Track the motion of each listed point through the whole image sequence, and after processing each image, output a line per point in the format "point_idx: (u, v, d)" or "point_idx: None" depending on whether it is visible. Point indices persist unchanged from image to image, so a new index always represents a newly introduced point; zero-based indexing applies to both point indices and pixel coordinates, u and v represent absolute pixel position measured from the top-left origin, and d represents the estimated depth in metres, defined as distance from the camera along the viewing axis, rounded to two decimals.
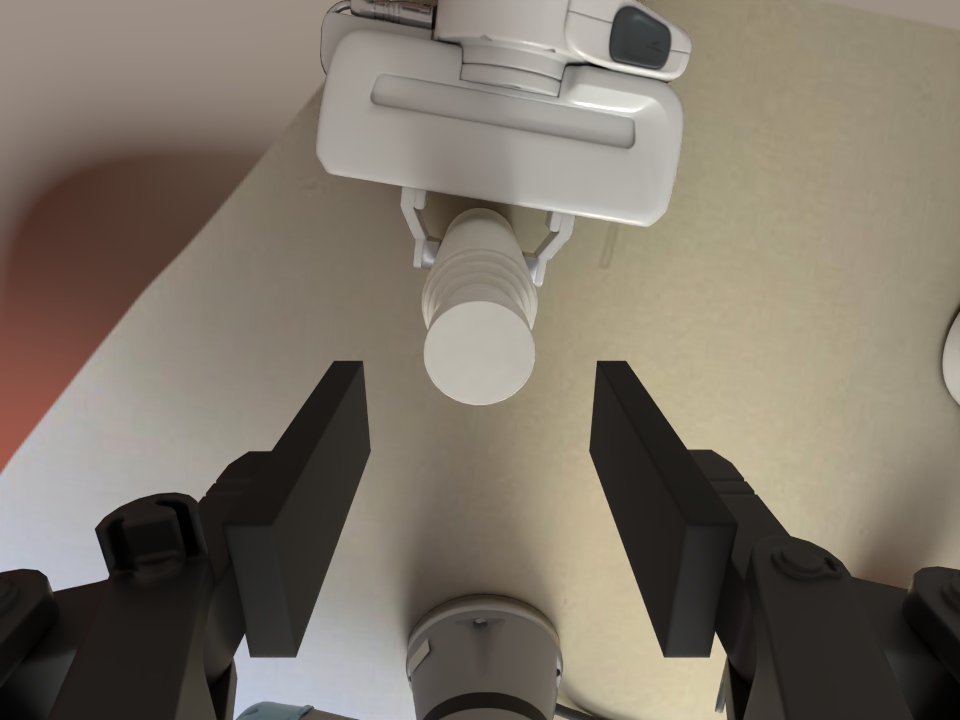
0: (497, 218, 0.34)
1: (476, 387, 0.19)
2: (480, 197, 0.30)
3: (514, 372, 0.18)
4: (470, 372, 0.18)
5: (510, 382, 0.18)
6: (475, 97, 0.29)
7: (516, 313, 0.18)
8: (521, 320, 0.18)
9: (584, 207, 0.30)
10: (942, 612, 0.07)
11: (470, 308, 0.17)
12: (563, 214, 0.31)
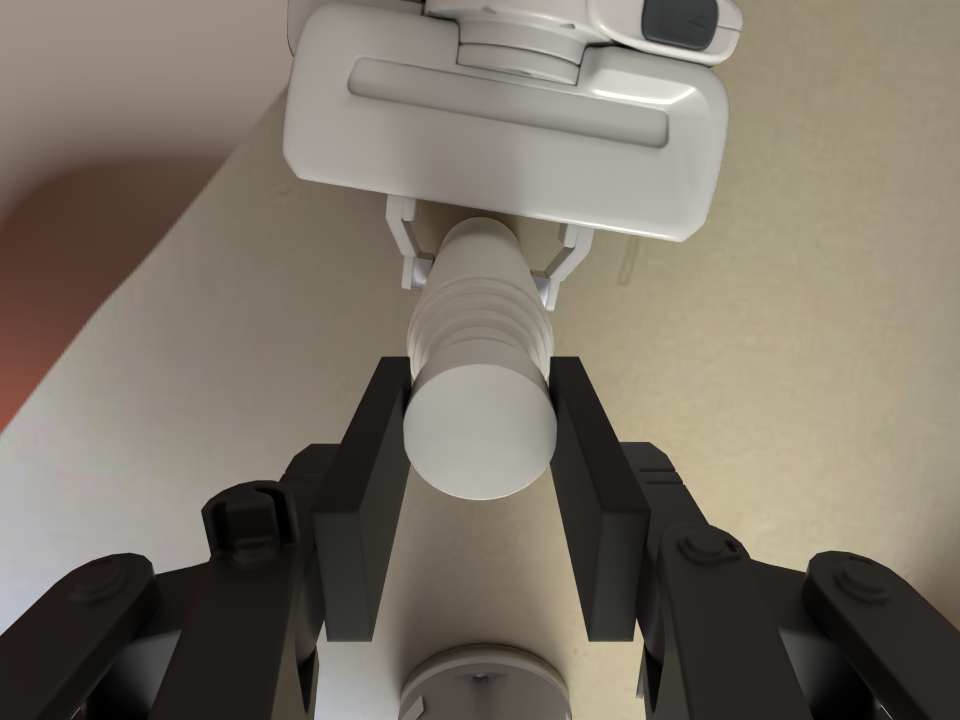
0: (501, 230, 0.29)
1: (476, 477, 0.13)
2: (481, 207, 0.25)
3: (528, 458, 0.13)
4: (467, 458, 0.13)
5: (523, 471, 0.13)
6: (474, 85, 0.23)
7: (532, 379, 0.13)
8: (538, 390, 0.13)
9: (606, 219, 0.25)
10: (834, 597, 0.07)
11: (467, 373, 0.12)
12: (580, 227, 0.26)
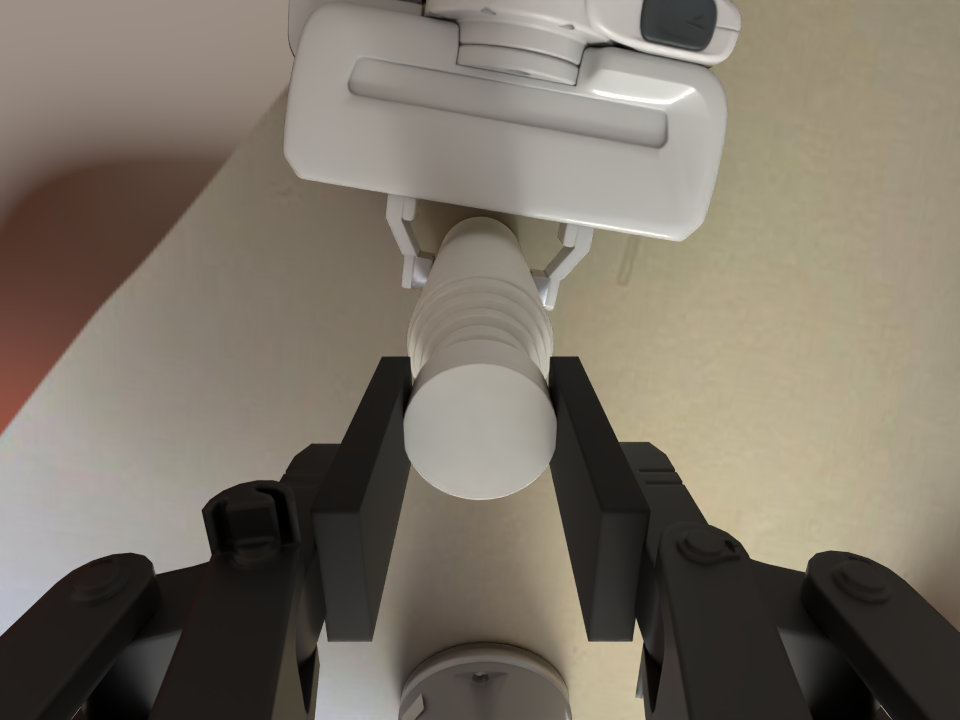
0: (500, 230, 0.30)
1: (525, 415, 0.13)
2: (481, 206, 0.25)
3: (477, 383, 0.13)
4: (509, 432, 0.13)
5: (493, 380, 0.12)
6: (474, 85, 0.24)
7: (403, 421, 0.13)
8: (407, 414, 0.13)
9: (605, 218, 0.25)
10: (833, 596, 0.07)
11: (430, 473, 0.13)
12: (579, 226, 0.26)
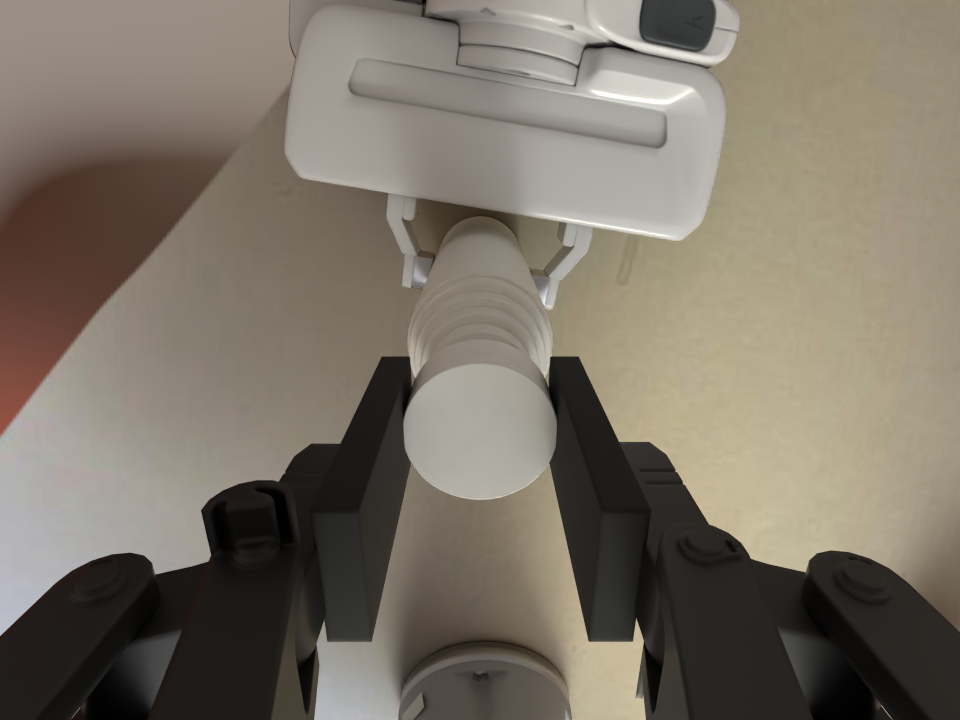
0: (500, 229, 0.30)
1: (437, 410, 0.13)
2: (481, 206, 0.25)
3: (434, 461, 0.13)
4: (462, 413, 0.13)
5: (423, 451, 0.13)
6: (474, 86, 0.24)
7: (506, 493, 0.14)
8: (496, 496, 0.14)
9: (604, 218, 0.26)
10: (834, 596, 0.07)
11: (543, 452, 0.13)
12: (579, 226, 0.26)
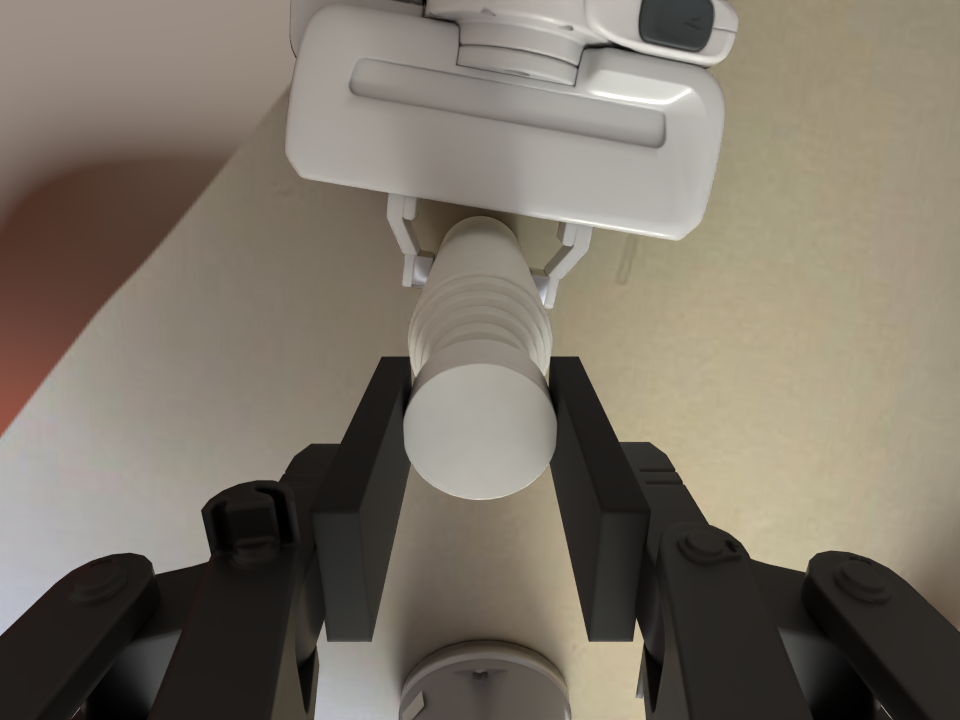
0: (500, 229, 0.30)
1: (478, 477, 0.13)
2: (481, 206, 0.26)
3: (530, 455, 0.13)
4: (469, 458, 0.13)
5: (525, 468, 0.13)
6: (474, 86, 0.24)
7: (529, 377, 0.13)
8: (536, 386, 0.13)
9: (604, 217, 0.26)
10: (834, 597, 0.07)
11: (463, 374, 0.12)
12: (578, 225, 0.26)
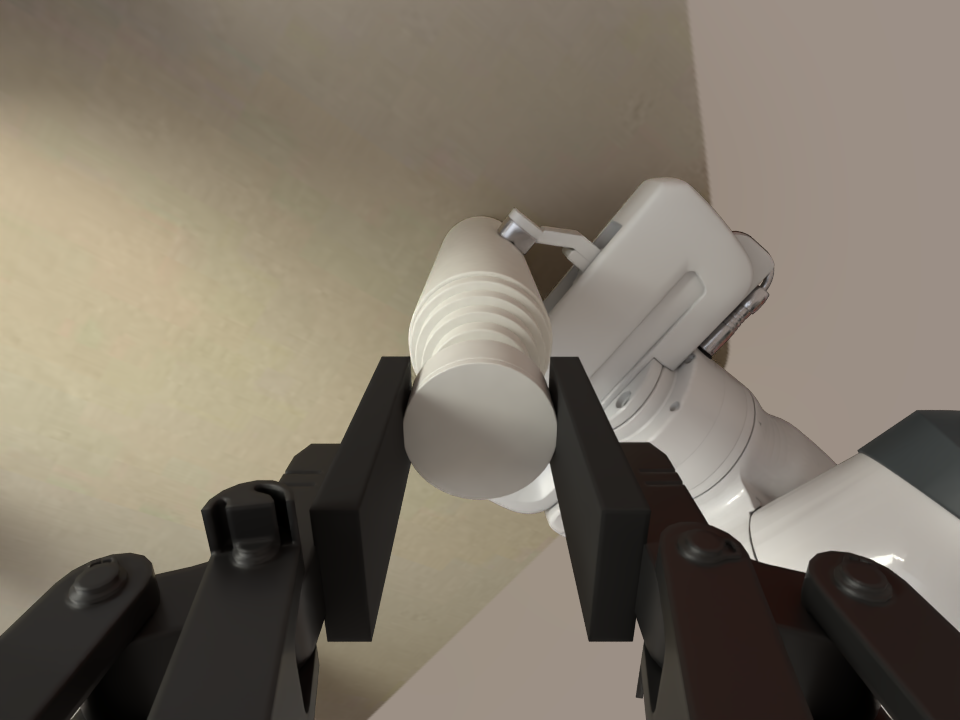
0: None
1: (478, 477, 0.13)
2: None
3: (530, 455, 0.13)
4: (469, 458, 0.13)
5: (525, 468, 0.13)
6: (631, 361, 0.29)
7: (529, 377, 0.13)
8: (536, 387, 0.13)
9: None
10: (834, 597, 0.07)
11: (464, 373, 0.12)
12: None
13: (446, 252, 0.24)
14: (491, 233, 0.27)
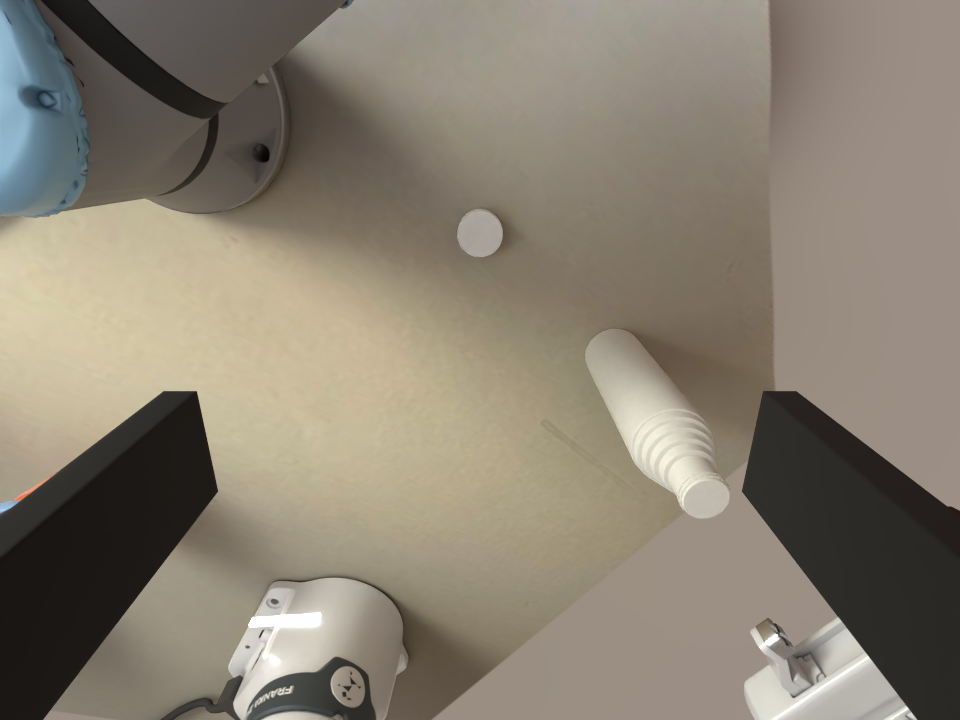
0: None
1: (479, 249, 0.45)
2: None
3: (494, 241, 0.44)
4: (476, 242, 0.44)
5: (493, 246, 0.45)
6: None
7: (494, 215, 0.44)
8: (496, 218, 0.44)
9: (821, 700, 0.34)
10: None
11: (475, 214, 0.44)
12: (802, 689, 0.35)
13: (626, 375, 0.40)
14: (645, 357, 0.42)
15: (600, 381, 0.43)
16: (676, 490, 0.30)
